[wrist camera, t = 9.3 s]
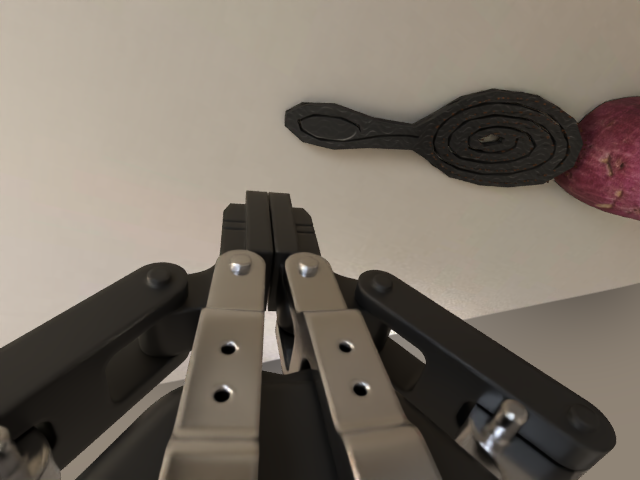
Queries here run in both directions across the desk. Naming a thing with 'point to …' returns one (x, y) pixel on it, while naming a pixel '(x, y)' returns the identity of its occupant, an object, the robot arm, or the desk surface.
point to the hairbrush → (459, 136)
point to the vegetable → (608, 159)
